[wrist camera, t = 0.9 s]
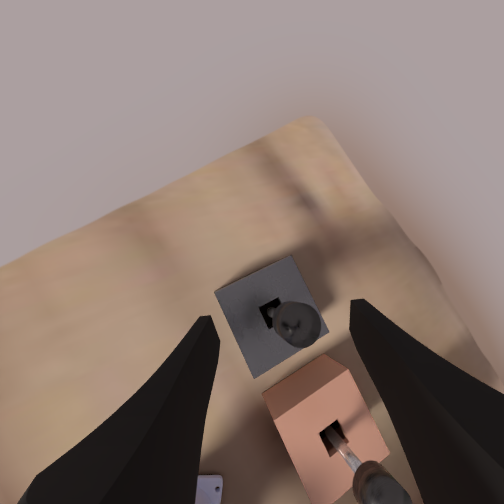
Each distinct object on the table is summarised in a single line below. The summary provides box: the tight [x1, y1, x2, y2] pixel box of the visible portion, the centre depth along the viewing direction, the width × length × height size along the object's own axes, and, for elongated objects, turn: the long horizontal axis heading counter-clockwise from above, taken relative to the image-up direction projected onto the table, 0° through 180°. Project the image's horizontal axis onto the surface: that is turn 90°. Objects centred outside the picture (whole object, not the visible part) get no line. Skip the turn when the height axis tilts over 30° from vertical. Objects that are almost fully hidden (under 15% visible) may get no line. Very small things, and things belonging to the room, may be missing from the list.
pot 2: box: [262, 354, 390, 504], centre depth 22 cm, size 9×9×5 cm
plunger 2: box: [325, 426, 412, 504], centre depth 17 cm, size 3×3×8 cm
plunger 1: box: [267, 301, 321, 348], centre depth 18 cm, size 3×3×8 cm
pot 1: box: [214, 255, 329, 379], centre depth 23 cm, size 9×9×5 cm
